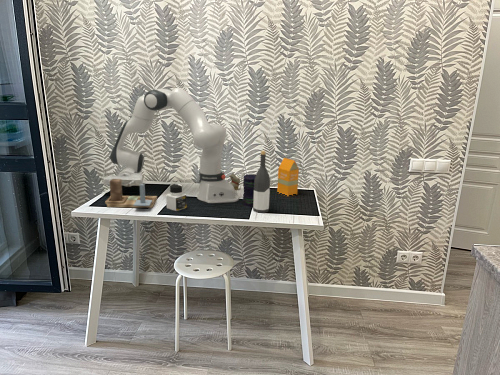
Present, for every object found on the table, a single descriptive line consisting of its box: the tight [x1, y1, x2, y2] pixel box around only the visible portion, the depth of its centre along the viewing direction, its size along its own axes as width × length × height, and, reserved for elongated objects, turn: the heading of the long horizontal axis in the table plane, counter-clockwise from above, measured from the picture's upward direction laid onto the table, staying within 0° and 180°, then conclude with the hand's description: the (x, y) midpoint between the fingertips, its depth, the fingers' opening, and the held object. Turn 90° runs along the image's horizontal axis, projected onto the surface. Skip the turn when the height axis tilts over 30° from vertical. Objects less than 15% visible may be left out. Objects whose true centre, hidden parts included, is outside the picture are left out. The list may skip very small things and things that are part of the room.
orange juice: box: [276, 157, 300, 197], centre depth 229 cm, size 8×9×20 cm
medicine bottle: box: [165, 183, 188, 212], centre depth 202 cm, size 7×7×12 cm
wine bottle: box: [252, 150, 271, 214], centre depth 199 cm, size 8×8×30 cm
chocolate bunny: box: [229, 172, 241, 191], centre depth 235 cm, size 6×8×10 cm
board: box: [104, 195, 158, 209], centre depth 208 cm, size 23×14×3 cm, turn 93°
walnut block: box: [109, 179, 123, 201], centre depth 204 cm, size 4×4×11 cm
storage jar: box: [242, 173, 257, 208], centre depth 210 cm, size 10×10×15 cm
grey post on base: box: [134, 183, 152, 206], centre depth 198 cm, size 8×8×10 cm
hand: (119, 184), depth 211 cm, fingers open, 8 cm apart
